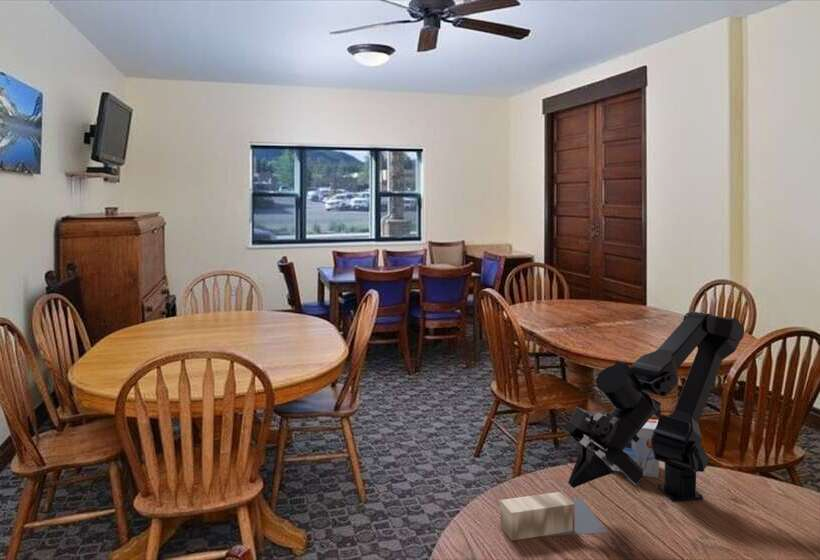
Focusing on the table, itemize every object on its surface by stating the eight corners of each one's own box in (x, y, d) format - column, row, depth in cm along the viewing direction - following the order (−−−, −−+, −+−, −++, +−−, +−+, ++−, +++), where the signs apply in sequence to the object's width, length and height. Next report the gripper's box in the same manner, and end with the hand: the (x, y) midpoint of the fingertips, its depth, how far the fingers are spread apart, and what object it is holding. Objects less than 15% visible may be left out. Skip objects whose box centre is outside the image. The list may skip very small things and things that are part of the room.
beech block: (561, 491, 111) (500, 499, 108) (574, 503, 106) (511, 512, 103) (560, 517, 111) (500, 526, 108) (574, 530, 106) (511, 540, 103)
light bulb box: (607, 471, 132) (608, 424, 130) (608, 460, 138) (609, 414, 137) (660, 478, 128) (661, 429, 127) (658, 465, 134) (659, 419, 133)
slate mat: (504, 504, 118) (504, 502, 117) (581, 500, 118) (581, 498, 118) (520, 539, 105) (520, 537, 105) (607, 534, 106) (607, 532, 106)
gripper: (572, 379, 117) (519, 440, 115) (628, 408, 99) (567, 480, 97) (608, 415, 119) (557, 474, 118) (669, 449, 101) (610, 520, 100)
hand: (570, 485), depth 108 cm, fingers closed
